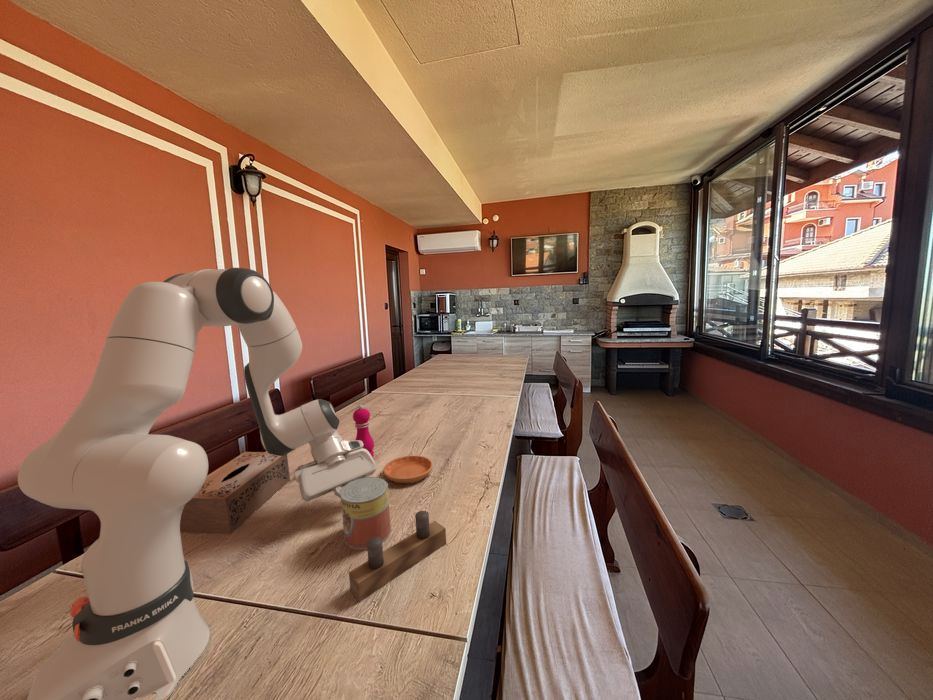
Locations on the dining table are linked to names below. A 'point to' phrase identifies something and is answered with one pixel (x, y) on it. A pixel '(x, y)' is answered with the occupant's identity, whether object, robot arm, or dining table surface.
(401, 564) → the bench stop
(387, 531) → the canned food
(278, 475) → the tissue box cover
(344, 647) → the dining table surface
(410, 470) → the saucer
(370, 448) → the pepper mill
